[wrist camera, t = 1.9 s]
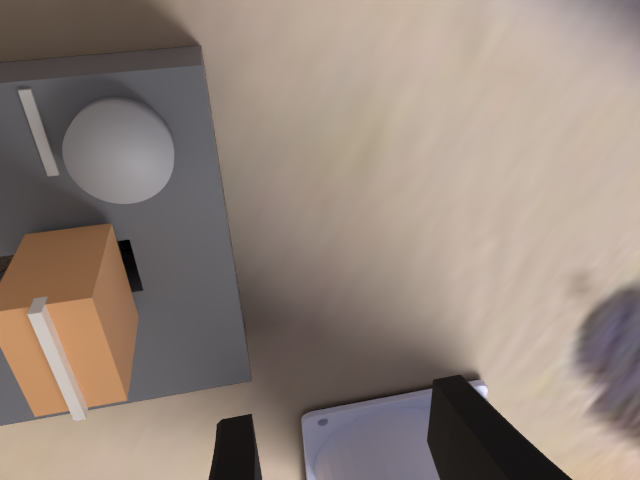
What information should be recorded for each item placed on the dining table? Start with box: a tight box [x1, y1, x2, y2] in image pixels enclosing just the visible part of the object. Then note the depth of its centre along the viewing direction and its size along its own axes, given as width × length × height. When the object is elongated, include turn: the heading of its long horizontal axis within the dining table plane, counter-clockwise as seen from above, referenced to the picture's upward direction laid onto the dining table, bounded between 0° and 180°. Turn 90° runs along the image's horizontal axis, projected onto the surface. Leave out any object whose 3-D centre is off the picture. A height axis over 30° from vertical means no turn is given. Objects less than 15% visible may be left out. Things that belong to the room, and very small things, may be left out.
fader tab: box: [0, 223, 139, 421], centre depth 16 cm, size 2×4×6 cm, turn 2°
